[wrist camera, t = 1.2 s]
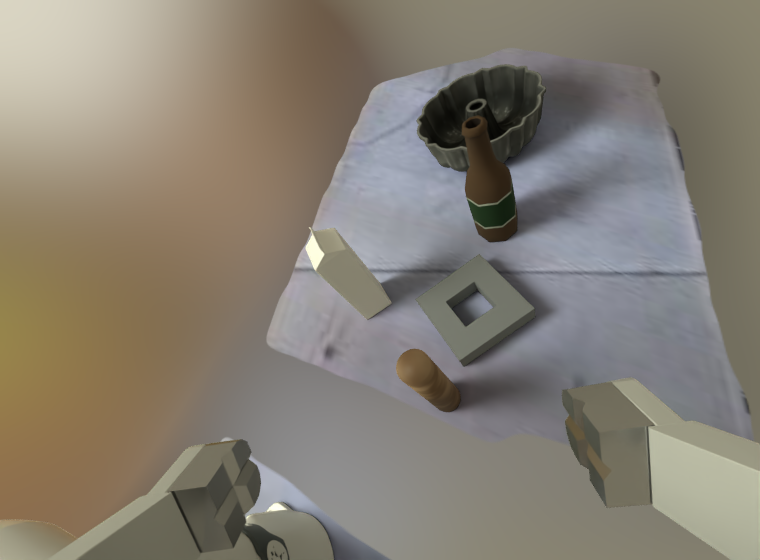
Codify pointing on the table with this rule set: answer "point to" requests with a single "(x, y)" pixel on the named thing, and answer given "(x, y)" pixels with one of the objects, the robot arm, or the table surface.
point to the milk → (346, 272)
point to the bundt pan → (483, 113)
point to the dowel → (427, 380)
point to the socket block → (487, 328)
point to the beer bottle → (488, 185)
